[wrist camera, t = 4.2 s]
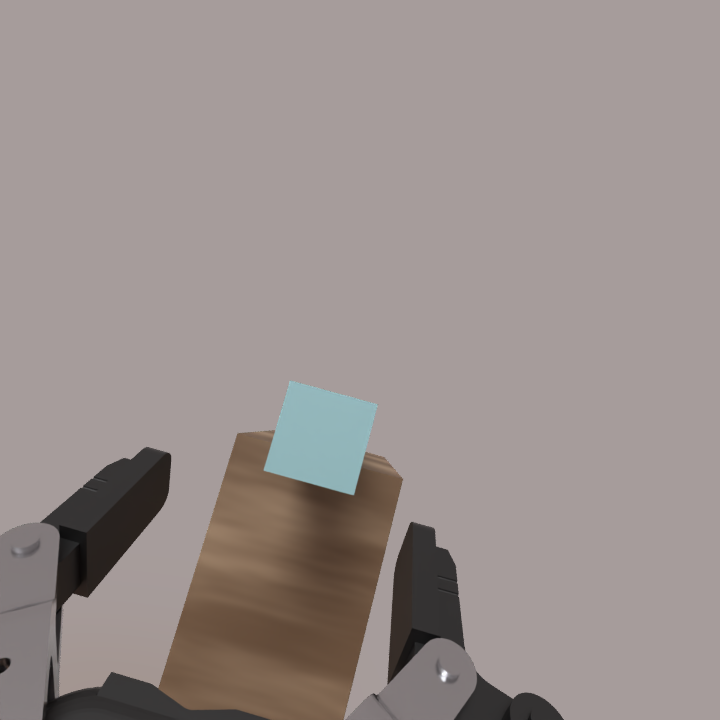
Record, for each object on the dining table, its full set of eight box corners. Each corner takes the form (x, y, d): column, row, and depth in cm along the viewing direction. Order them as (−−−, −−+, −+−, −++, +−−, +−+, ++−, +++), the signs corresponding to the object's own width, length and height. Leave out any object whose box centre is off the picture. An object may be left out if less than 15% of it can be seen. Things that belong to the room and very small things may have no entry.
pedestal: (175, 797, 36) (283, 429, 40) (288, 831, 35) (384, 457, 40) (31, 1096, 20) (237, 433, 25) (234, 1162, 20) (403, 479, 24)
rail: (317, 438, 40) (326, 406, 40) (349, 447, 40) (358, 415, 40) (263, 470, 14) (290, 380, 15) (353, 495, 14) (377, 404, 15)
